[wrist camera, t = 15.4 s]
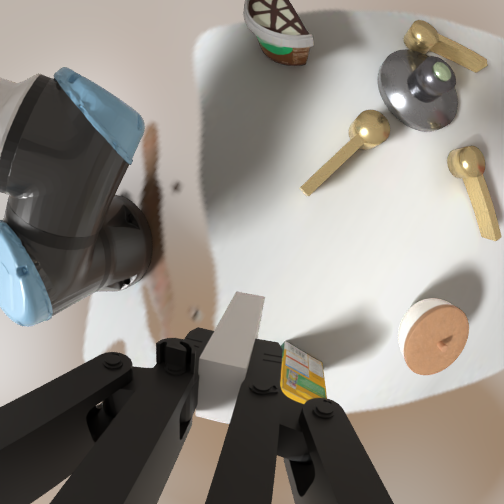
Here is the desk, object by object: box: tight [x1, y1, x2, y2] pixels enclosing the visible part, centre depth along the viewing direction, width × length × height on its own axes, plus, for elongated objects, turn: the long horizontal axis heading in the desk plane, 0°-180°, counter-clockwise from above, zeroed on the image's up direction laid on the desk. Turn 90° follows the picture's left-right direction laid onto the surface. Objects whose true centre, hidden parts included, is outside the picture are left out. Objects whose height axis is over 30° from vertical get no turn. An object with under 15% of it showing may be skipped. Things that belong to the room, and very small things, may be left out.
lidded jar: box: [398, 298, 469, 375], centre depth 33 cm, size 11×11×9 cm
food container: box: [244, 0, 314, 66], centre depth 28 cm, size 12×6×10 cm, turn 20°
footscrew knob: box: [299, 110, 390, 196], centre depth 33 cm, size 14×4×5 cm, turn 135°
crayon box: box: [280, 341, 327, 404], centre depth 36 cm, size 7×3×12 cm, turn 58°
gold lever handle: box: [447, 146, 501, 241], centre depth 30 cm, size 14×4×5 cm, turn 30°
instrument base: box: [378, 20, 488, 132], centre depth 26 cm, size 18×18×9 cm
